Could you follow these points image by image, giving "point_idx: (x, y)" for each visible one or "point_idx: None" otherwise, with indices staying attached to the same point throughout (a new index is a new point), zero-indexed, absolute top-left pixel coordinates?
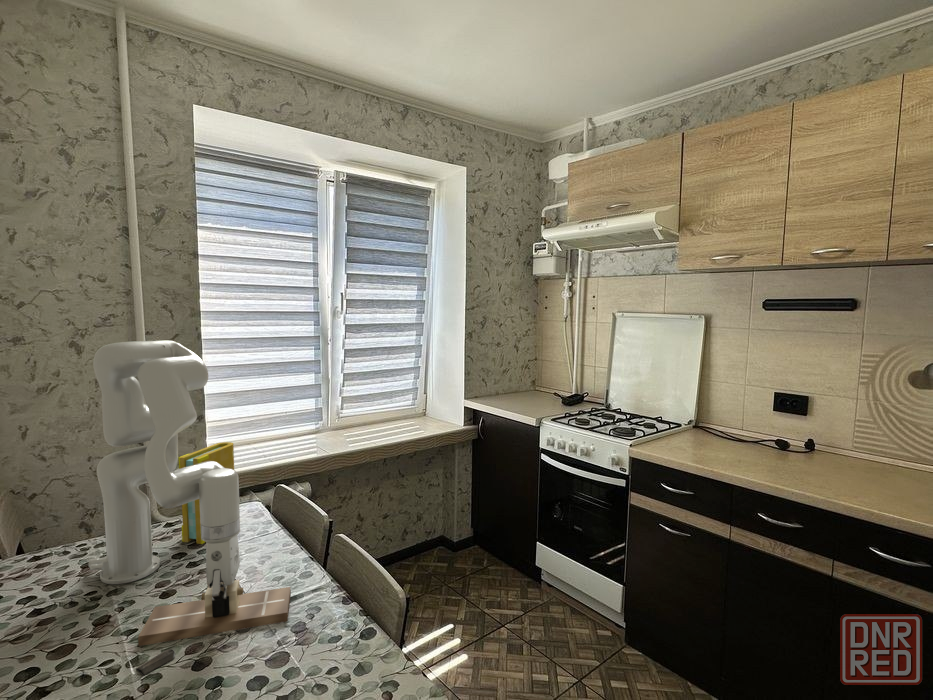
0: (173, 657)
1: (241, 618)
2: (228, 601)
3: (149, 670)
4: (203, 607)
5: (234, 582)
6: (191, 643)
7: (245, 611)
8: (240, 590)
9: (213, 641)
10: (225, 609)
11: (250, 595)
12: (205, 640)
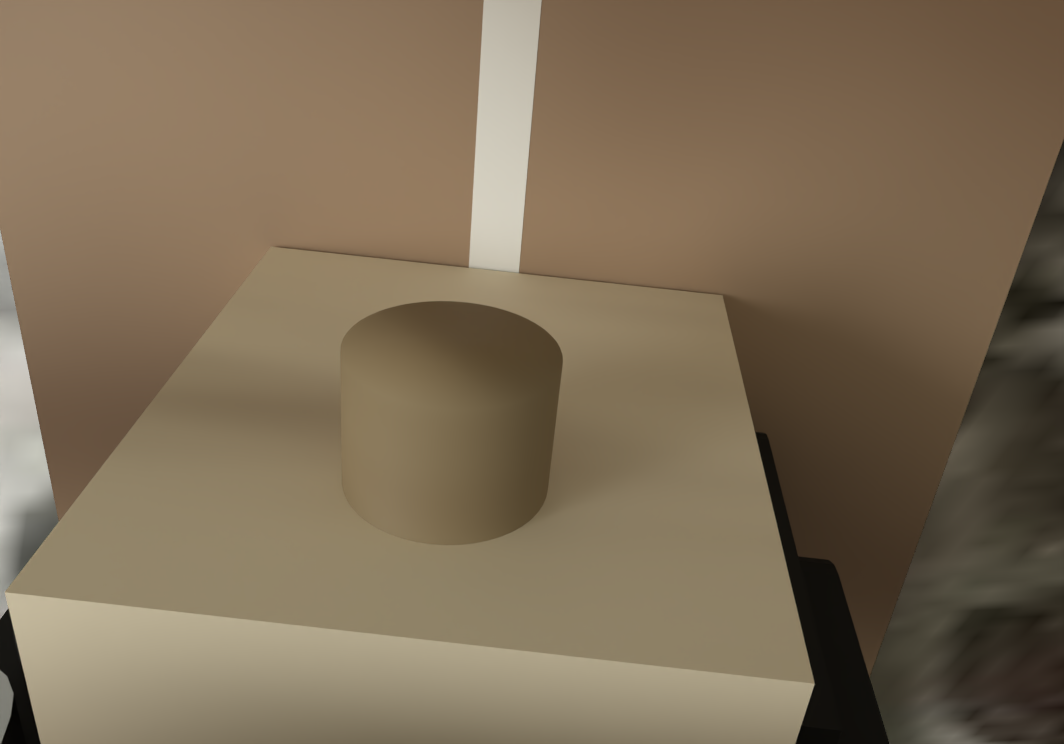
0: None
1: (994, 185)
2: (818, 638)
3: None
4: None
5: (191, 713)
6: (923, 708)
7: (743, 111)
8: (521, 444)
9: (1053, 500)
10: None
11: (81, 24)
12: (959, 585)
